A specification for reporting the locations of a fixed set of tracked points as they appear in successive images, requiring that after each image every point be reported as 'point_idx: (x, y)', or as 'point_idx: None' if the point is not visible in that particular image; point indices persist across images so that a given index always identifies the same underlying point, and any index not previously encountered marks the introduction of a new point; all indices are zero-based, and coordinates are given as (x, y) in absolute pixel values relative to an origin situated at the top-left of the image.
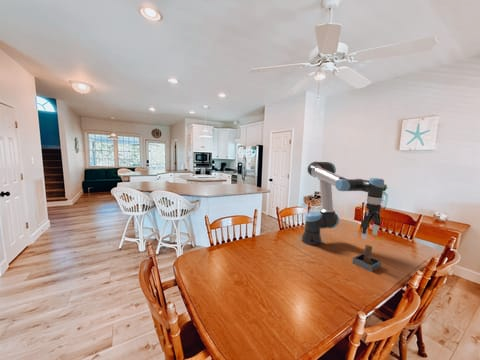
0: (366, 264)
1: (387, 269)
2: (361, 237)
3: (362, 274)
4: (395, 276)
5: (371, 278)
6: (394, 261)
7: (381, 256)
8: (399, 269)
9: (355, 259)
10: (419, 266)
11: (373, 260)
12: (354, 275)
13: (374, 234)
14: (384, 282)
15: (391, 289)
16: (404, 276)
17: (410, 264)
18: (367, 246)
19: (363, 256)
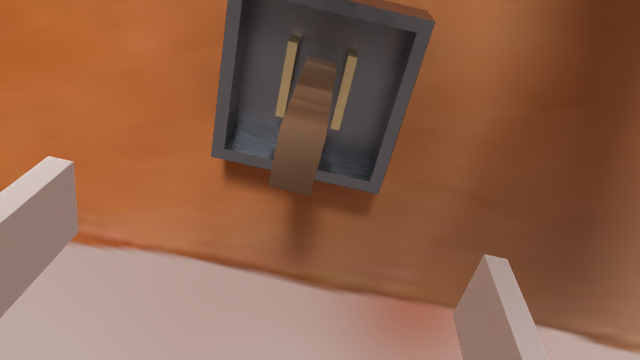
0: (218, 107)
1: (373, 207)
2: (43, 161)
3: (125, 89)
4: (303, 250)
5: (130, 147)
6: (577, 230)
7: (630, 143)
8: (440, 262)
9: (230, 1)
10: (593, 342)
11: (383, 130)
12: (50, 47)
13: (467, 288)
14: (158, 212)
15: (115, 246)
16: (350, 286)
17: (592, 307)
18: (276, 149)
19: (412, 38)
